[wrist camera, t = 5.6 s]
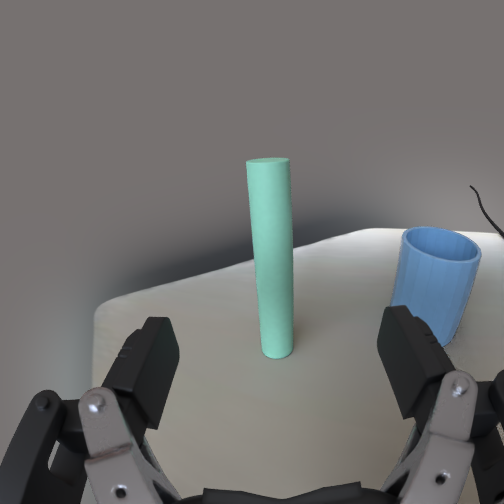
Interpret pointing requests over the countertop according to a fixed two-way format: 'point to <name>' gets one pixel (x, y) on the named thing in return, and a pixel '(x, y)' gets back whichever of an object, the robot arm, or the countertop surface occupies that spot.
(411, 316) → the robot arm
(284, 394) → the countertop surface
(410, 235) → the cup
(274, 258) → the mint green tapered cylinder
